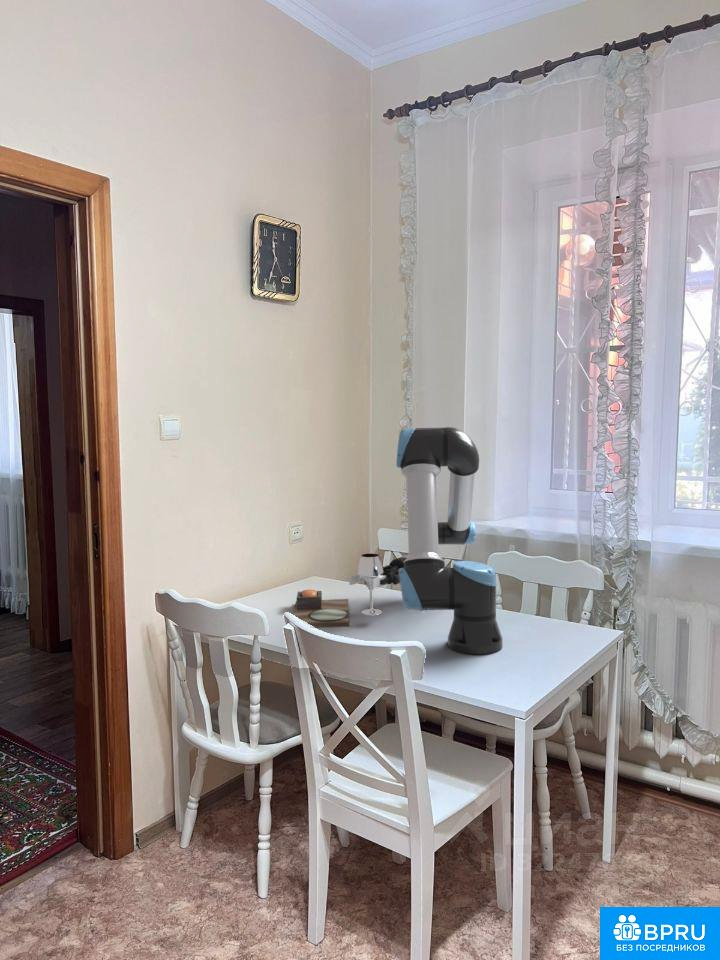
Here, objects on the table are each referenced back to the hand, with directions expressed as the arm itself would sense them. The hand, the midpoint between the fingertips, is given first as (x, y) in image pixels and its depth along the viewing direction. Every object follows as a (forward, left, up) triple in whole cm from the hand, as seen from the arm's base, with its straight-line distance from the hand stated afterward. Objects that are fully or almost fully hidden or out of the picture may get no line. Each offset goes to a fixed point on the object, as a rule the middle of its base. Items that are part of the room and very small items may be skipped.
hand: (361, 582), depth 217 cm
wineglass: (+4, -3, -11) cm, 12 cm away
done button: (+21, +17, -11) cm, 29 cm away
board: (+15, +13, -14) cm, 25 cm away
